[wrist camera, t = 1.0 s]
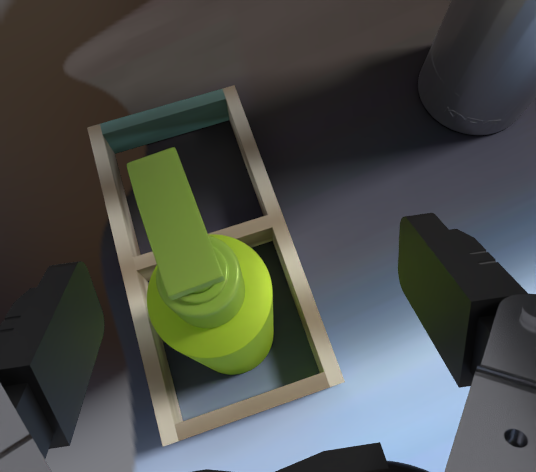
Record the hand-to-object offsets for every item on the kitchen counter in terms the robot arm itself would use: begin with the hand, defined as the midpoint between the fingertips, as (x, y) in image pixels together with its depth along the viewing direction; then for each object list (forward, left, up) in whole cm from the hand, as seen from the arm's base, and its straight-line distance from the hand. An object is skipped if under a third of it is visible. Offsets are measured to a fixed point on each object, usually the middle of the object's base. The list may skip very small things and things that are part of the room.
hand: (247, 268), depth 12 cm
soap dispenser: (-1, -3, -23) cm, 23 cm away
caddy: (-6, -6, -23) cm, 25 cm away
